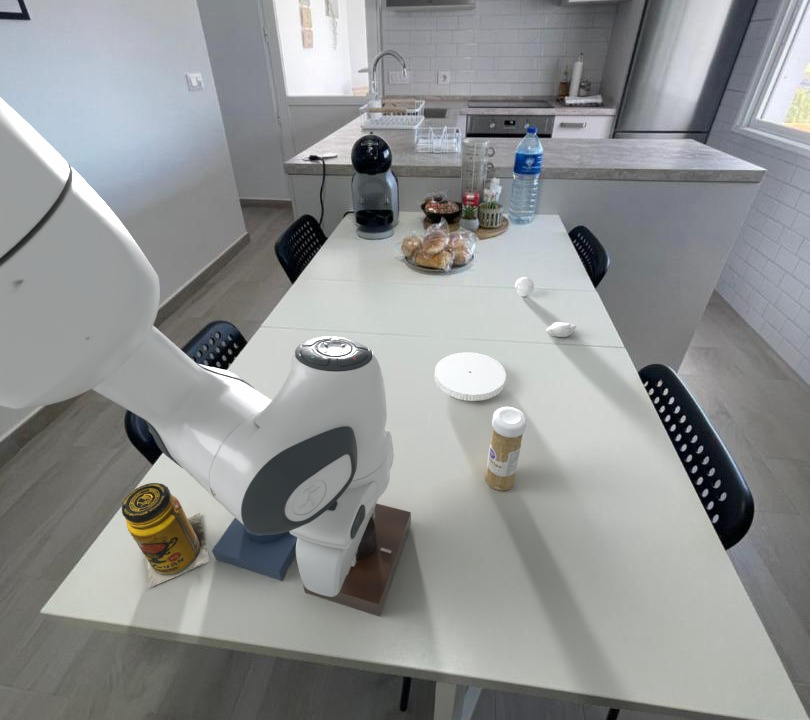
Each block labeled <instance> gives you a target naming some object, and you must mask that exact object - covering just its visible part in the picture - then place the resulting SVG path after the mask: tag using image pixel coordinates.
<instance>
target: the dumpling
mask: <svg viewBox="0 0 810 720" xmlns="http://www.w3.org/2000/svg"><path fill="white" fill-rule="evenodd" d="M577 328H578V325H575V324H573V323H569V322H563V321H555V322H553V323H552V324H551V325H550V326H549V327H548V328H547V329H546V330H545V333H546V334H547V335H549V336H552V337H559V338H567V337H569V336H571V335H572V334H573V333H574V332H575V330H576V329H577Z"/></svg>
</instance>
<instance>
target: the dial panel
mask: <svg viewBox="0 0 810 720" xmlns="http://www.w3.org/2000/svg"><path fill="white" fill-rule="evenodd" d="M374 511H375V518H374V523H375V530H376V540H377V544H376V548H375V550H374V552H373V553H372V554H371V555H370V556H368V557H366V558H364V559H357V562H356V564H355V566H354V567H352V566H350V568H349V570H348V573H347V575H346V577H345V580H344V582H343V585H342V587H341V590H340V592H339V593H338V594H337V595H336V596H334V597H329V596H324V595H320V594H317V593H315V592H312V591H310V590H308V589H307V588H306V587H305V586H304V584H303V582H302V581H301V583H302V587H303V590H304V593H305V594H308V595H312V596H314V597H317V598H321V599H323V600H327V601H329V602H333V603H336V604H338V605H339V604H340V605H341V606H345V607H348V608H351V609H355V610H358V611H361V612H364V613H368V614H370V615H373V616H377V617H381V615H382V613H383V610H384V606H385V604H386V601H387V597H388V595H389V592H390V589H391V586H392V582H393V580H394V578H395V575H396V571H397V568H398V566H399V562H400V560H401V556H402V553H403V550H404V548H405V543H406V541H407V538H408V535H409V532H410V529H411V526H412V512H411V511H408V510H403V509H400V508H396V507H392V506H389V505H384V504H381V503H376V506H375V510H374Z"/></svg>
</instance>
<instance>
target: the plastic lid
mask: <svg viewBox="0 0 810 720" xmlns="http://www.w3.org/2000/svg"><path fill="white" fill-rule="evenodd" d="M506 381H507V371H506V369H505V367H504V366H503V365H502V363H500V362H499V361H498V360H497V359H494V357H492V356H489V355H487V354H483V353H480V352H479V353H478V352H472V351H470V352H469V351H467V352H466V351H464V352H463V351H461V352H455V353H452V354H449V355H446V356H445V357H443V358H441V359H440V360H439V361H438V363H436V364H435V368H434V382H435V384H436V386H437V387H438V389H440V391H441V392H443V393H444V395H445V394H446V395H447V396H449V397H451V398H455V399H456V400H457V399H458V400H461V401H465V402H466V401H468V402H470V401H471V402H477V401H478V402H480V401H486V400H489V399H492V398H494V397H497V395H499V394H501V392H502V391H503V390H504V389H505V386H506Z"/></svg>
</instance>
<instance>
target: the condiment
mask: <svg viewBox="0 0 810 720" xmlns="http://www.w3.org/2000/svg"><path fill="white" fill-rule="evenodd" d="M121 514H122V516H123V517H124V518H125V521H126V528H127V531H128V532H129V533H130V536H131V537H132V539H133V540H134V541H135V543H136V544H137V546H138V547H139V550H140V551H141V552H142V554H143V555H144V557H145V558H146V561H147V571H148V572H147V573H148V588H152V587H155V586H157V585H160V584H162V583H164V582H167V581H169V580H171V579H173V578H176V577H179V576H181V575H182V574H185V573H188V572H189V571H191V570H194V569H196V568H197V567H199V566H202V565H204V564H206V563H209V562H210V558H209V552H208V546H207V542H206V541H207V540H206V536H205V531H204V526H203V521H202V516H201V512H199V513H197V514H194V515H193V516H190V517H187V515H186V512H185V511H184V509H183V506H182V504H181V503H180V501H179V499H178V498H177V497H176V496H174V495H173V494H172V493H171V491H170V489H169V487H168V486H166V485H165V484H163V483H158V482H150V483H145V484H142V485H140V486H139V487H137V488H135V489H133V490H132V491H131V492H129V494H128V495H127V496H125V499H124V500H123V502H122V504H121Z"/></svg>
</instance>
